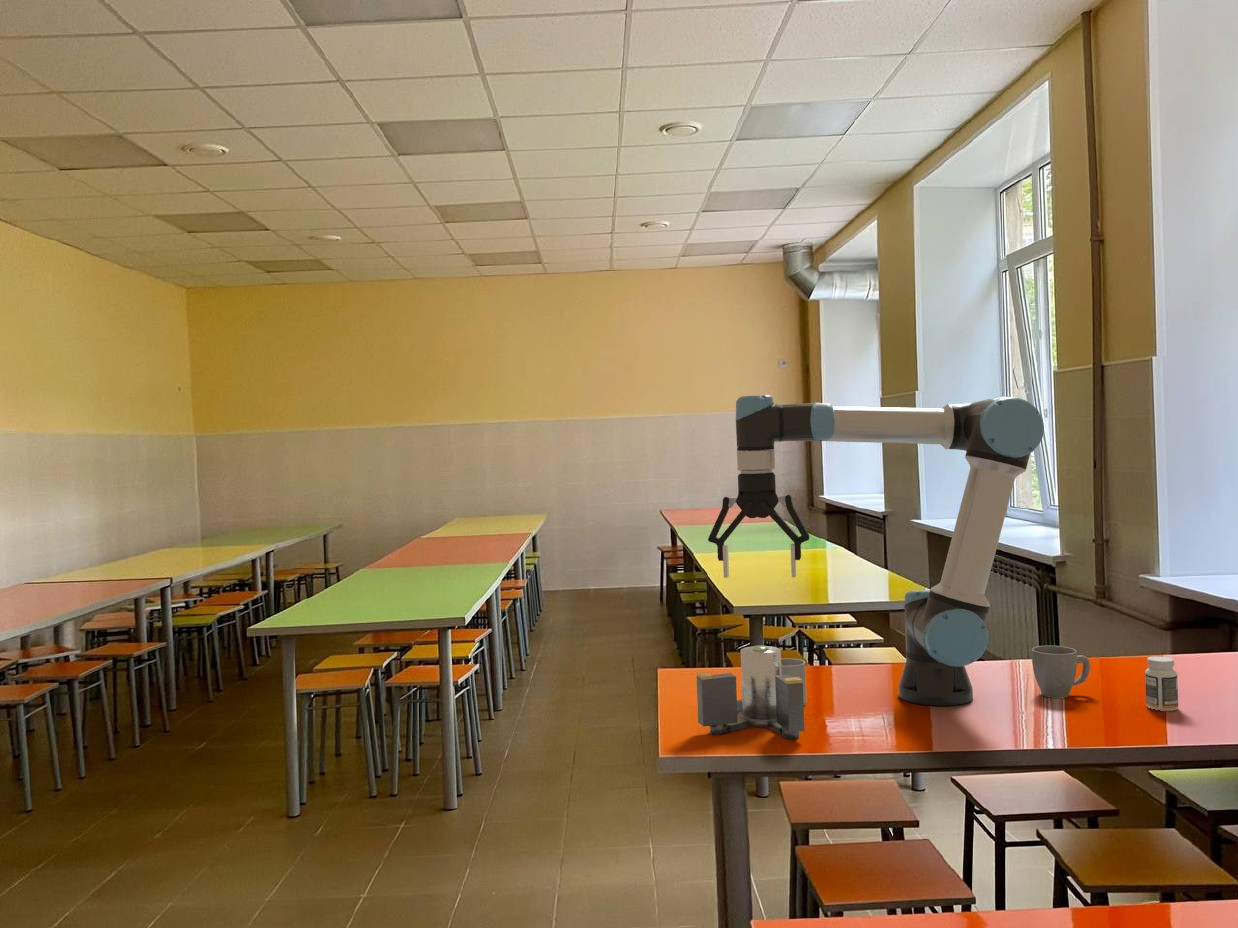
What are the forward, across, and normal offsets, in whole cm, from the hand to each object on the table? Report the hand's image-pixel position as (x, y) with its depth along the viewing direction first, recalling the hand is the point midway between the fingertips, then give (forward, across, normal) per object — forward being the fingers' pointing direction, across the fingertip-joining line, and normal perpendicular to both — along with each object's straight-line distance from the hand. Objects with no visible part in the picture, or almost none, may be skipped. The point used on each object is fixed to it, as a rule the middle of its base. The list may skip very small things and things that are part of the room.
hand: (759, 576), depth 200 cm
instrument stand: (+29, 0, +3) cm, 29 cm away
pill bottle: (+29, -78, -14) cm, 84 cm away
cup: (+29, -3, -11) cm, 31 cm away
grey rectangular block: (+29, -6, +13) cm, 32 cm away
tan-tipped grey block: (+29, +8, +11) cm, 32 cm away
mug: (+29, -61, -24) cm, 71 cm away
